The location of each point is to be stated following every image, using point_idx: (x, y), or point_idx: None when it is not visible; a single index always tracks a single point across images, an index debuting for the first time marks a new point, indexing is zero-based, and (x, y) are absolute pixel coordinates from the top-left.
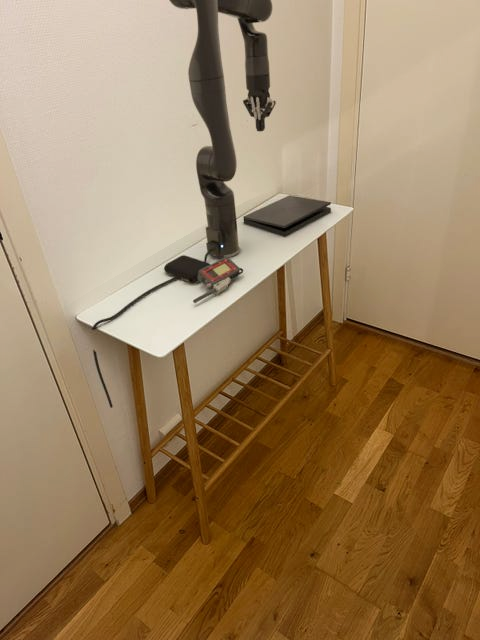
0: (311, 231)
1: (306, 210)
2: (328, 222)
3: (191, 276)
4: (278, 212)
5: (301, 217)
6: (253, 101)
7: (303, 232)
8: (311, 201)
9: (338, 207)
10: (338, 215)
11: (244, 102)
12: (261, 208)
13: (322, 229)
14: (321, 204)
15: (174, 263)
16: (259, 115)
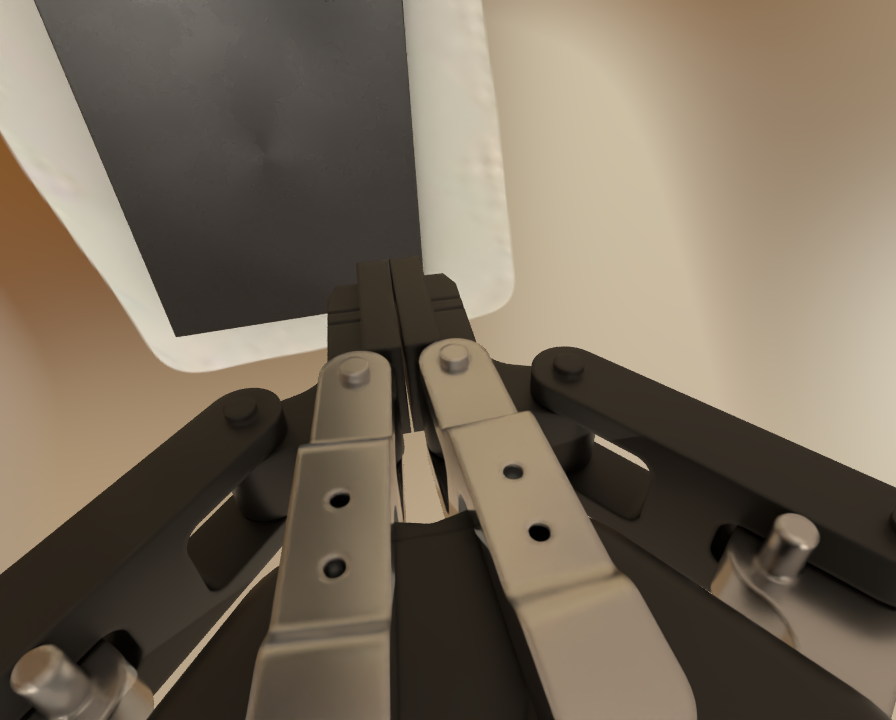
0: (20, 92)
1: (163, 200)
2: (83, 229)
3: None
4: (263, 91)
5: (80, 107)
6: (521, 619)
7: (32, 51)
8: (260, 297)
9: (211, 361)
10: (131, 308)
11: (893, 515)
12: (404, 84)
13: (14, 150)
14: (183, 296)
15: None
16: (348, 403)
